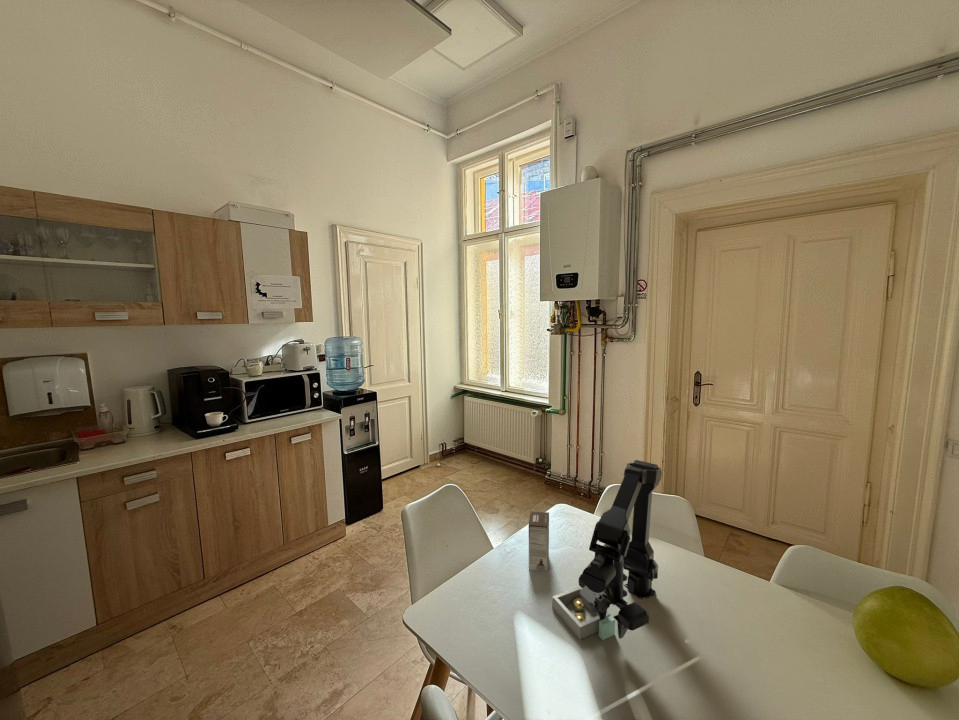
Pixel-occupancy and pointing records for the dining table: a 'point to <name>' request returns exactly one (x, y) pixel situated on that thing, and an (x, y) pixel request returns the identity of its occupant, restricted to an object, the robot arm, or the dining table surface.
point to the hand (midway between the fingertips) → (611, 629)
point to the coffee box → (539, 541)
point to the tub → (566, 612)
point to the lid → (606, 627)
